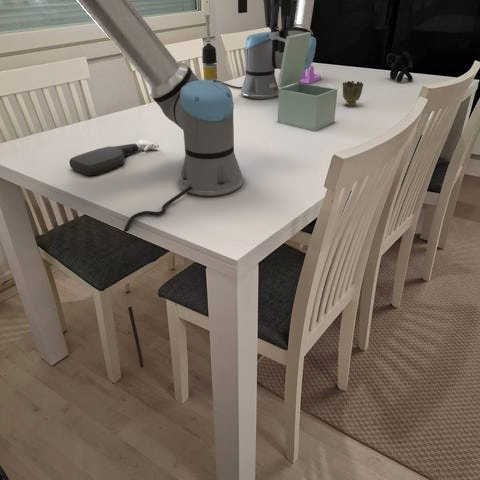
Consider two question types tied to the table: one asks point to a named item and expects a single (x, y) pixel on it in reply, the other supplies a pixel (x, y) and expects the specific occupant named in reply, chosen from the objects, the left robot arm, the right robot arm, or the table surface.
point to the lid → (292, 57)
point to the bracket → (310, 76)
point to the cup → (352, 92)
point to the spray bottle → (106, 157)
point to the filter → (209, 57)
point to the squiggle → (399, 66)
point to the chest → (307, 106)
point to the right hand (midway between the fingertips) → (278, 51)
